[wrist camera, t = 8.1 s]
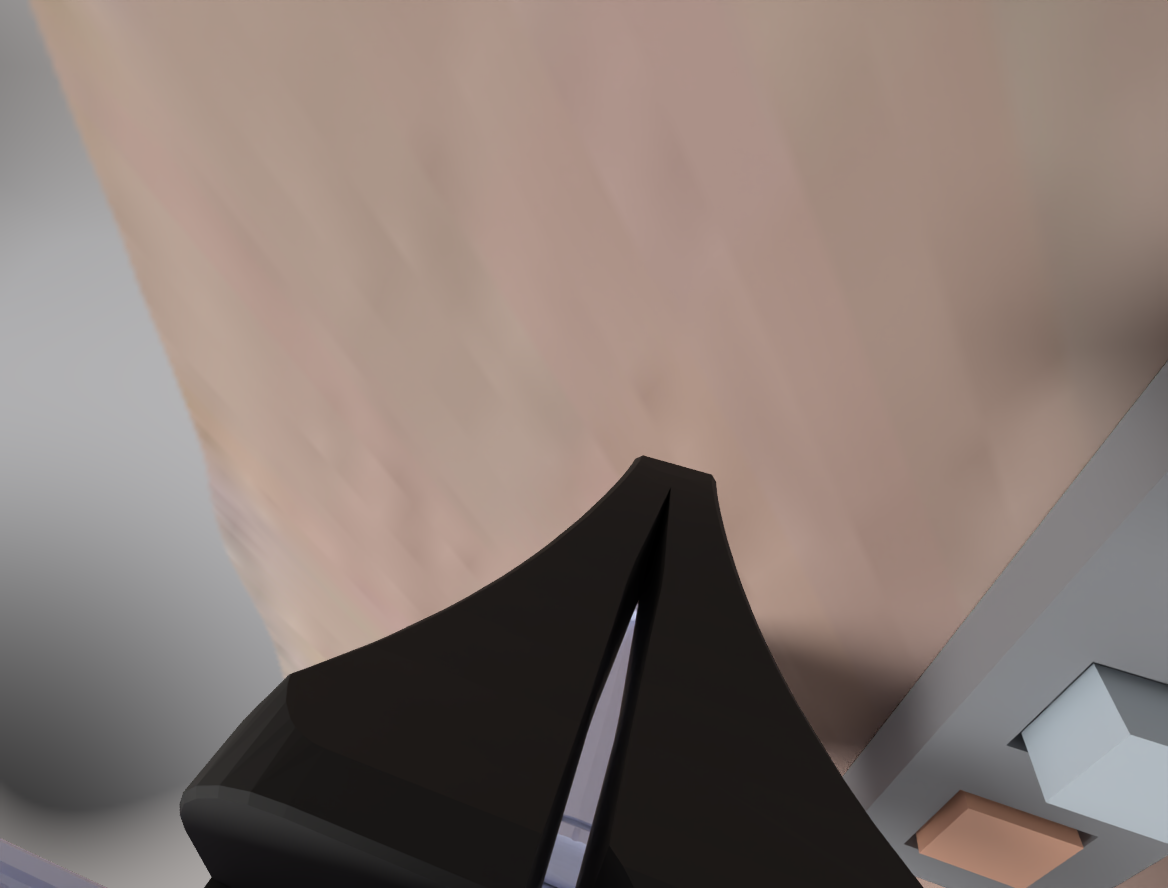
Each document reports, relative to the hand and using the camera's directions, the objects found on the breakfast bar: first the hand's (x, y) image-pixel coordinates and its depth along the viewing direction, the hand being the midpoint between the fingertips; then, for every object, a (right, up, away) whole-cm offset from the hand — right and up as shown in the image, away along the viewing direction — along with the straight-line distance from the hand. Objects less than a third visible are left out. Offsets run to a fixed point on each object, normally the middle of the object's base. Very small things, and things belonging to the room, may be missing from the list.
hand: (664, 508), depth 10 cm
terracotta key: (+15, -13, +14) cm, 25 cm away
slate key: (+16, -8, +9) cm, 20 cm away
